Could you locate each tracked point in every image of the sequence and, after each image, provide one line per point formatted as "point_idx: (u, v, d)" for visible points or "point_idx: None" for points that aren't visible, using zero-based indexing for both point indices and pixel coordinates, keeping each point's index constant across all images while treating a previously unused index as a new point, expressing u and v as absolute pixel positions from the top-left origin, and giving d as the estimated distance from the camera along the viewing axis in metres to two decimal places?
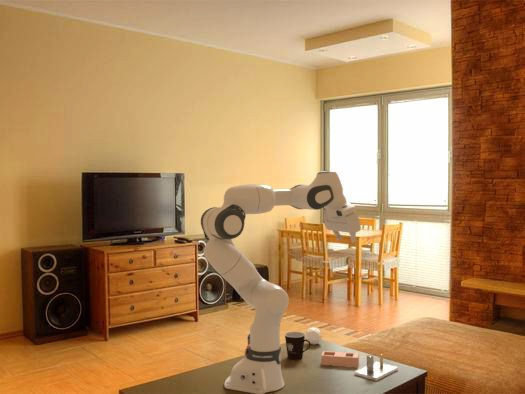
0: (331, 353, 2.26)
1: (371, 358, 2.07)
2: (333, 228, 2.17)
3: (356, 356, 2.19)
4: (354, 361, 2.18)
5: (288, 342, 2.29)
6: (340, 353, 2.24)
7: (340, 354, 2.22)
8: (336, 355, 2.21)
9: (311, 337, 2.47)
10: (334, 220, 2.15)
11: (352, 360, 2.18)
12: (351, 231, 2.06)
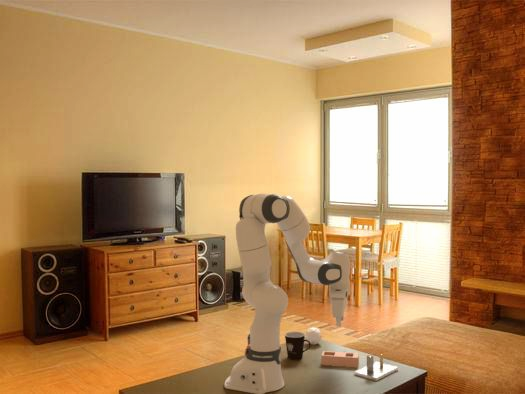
0: (331, 353, 2.26)
1: (371, 358, 2.07)
2: None
3: (356, 356, 2.19)
4: (354, 361, 2.18)
5: (288, 342, 2.29)
6: (340, 353, 2.24)
7: (340, 354, 2.22)
8: (336, 355, 2.21)
9: (311, 337, 2.47)
10: None
11: (352, 360, 2.18)
12: (333, 314, 2.14)
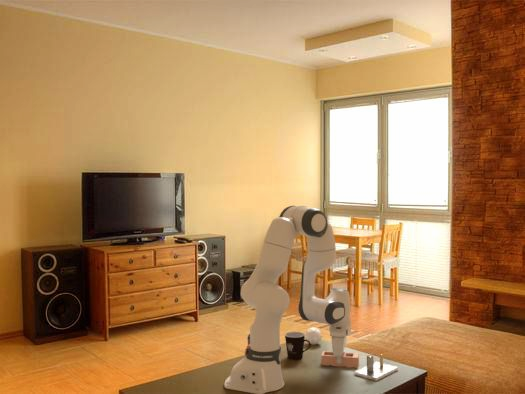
0: (331, 353, 2.26)
1: (371, 358, 2.07)
2: None
3: (356, 356, 2.19)
4: (354, 361, 2.18)
5: (288, 342, 2.29)
6: None
7: None
8: None
9: (311, 337, 2.47)
10: None
11: (352, 360, 2.18)
12: None
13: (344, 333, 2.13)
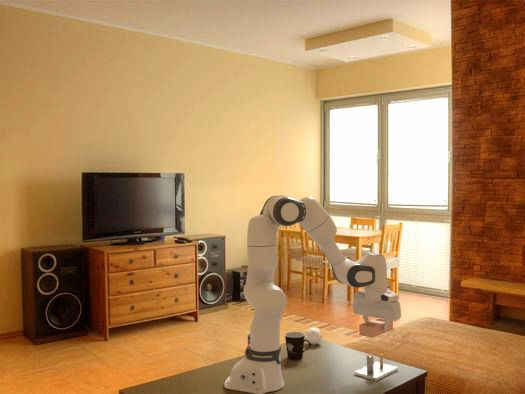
0: (366, 324, 2.10)
1: (371, 358, 2.07)
2: (364, 313, 2.13)
3: None
4: (391, 324, 2.14)
5: (288, 342, 2.29)
6: (373, 321, 2.12)
7: (377, 322, 2.12)
8: (378, 323, 2.09)
9: (311, 337, 2.47)
10: (369, 304, 2.12)
11: (389, 323, 2.13)
12: (392, 318, 2.04)
13: (398, 295, 2.07)
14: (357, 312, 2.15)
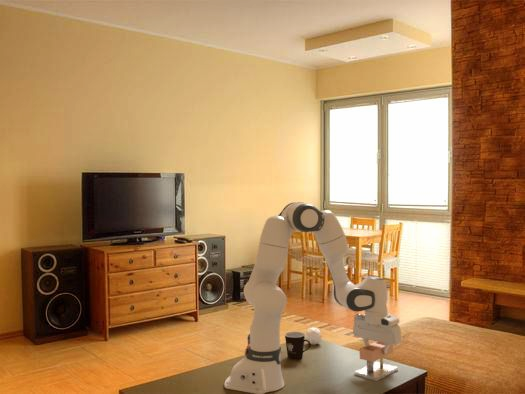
0: (366, 348, 2.11)
1: None
2: (365, 336, 2.13)
3: None
4: (391, 347, 2.14)
5: (288, 342, 2.29)
6: (374, 345, 2.13)
7: (377, 345, 2.12)
8: (378, 347, 2.10)
9: (311, 337, 2.47)
10: (369, 328, 2.12)
11: (390, 347, 2.14)
12: (392, 343, 2.05)
13: (398, 319, 2.08)
14: (357, 335, 2.16)
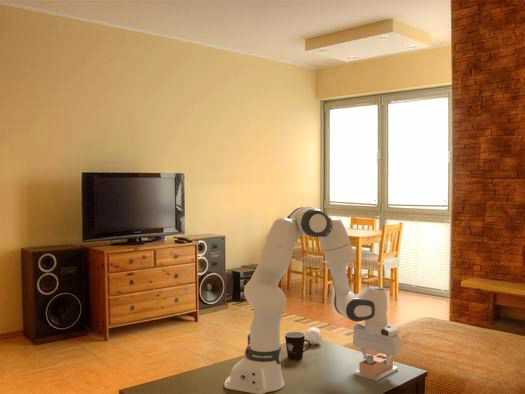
0: (366, 362, 2.11)
1: (371, 358, 2.07)
2: (365, 346, 2.13)
3: None
4: (390, 361, 2.14)
5: (288, 342, 2.29)
6: (373, 358, 2.13)
7: (377, 359, 2.12)
8: (378, 361, 2.10)
9: (311, 337, 2.47)
10: (369, 338, 2.12)
11: None
12: (392, 353, 2.05)
13: (398, 330, 2.08)
14: (357, 345, 2.16)
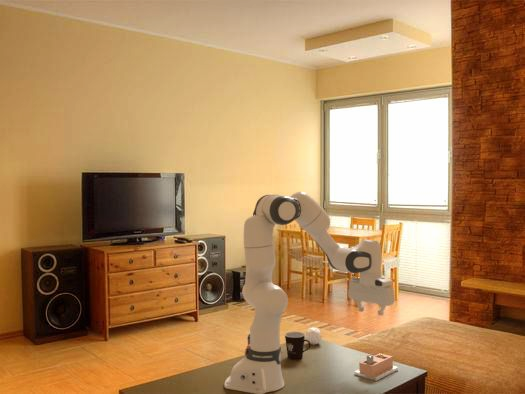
0: (366, 362, 2.11)
1: (371, 358, 2.07)
2: (359, 298, 2.19)
3: (388, 355, 2.16)
4: (390, 361, 2.14)
5: (288, 342, 2.29)
6: (373, 358, 2.13)
7: (377, 359, 2.12)
8: (378, 361, 2.10)
9: (311, 337, 2.47)
10: (364, 290, 2.17)
11: (389, 360, 2.14)
12: (385, 303, 2.10)
13: (392, 281, 2.13)
14: (352, 297, 2.21)
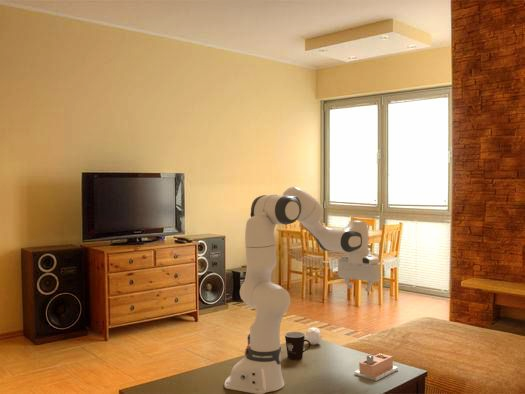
0: (366, 362, 2.11)
1: (371, 358, 2.07)
2: (348, 275, 2.32)
3: (388, 355, 2.16)
4: (390, 361, 2.14)
5: (288, 342, 2.29)
6: (373, 358, 2.13)
7: (377, 359, 2.12)
8: (378, 361, 2.10)
9: (311, 337, 2.47)
10: (352, 268, 2.31)
11: (389, 360, 2.14)
12: (372, 279, 2.23)
13: (378, 259, 2.26)
14: (341, 275, 2.35)
